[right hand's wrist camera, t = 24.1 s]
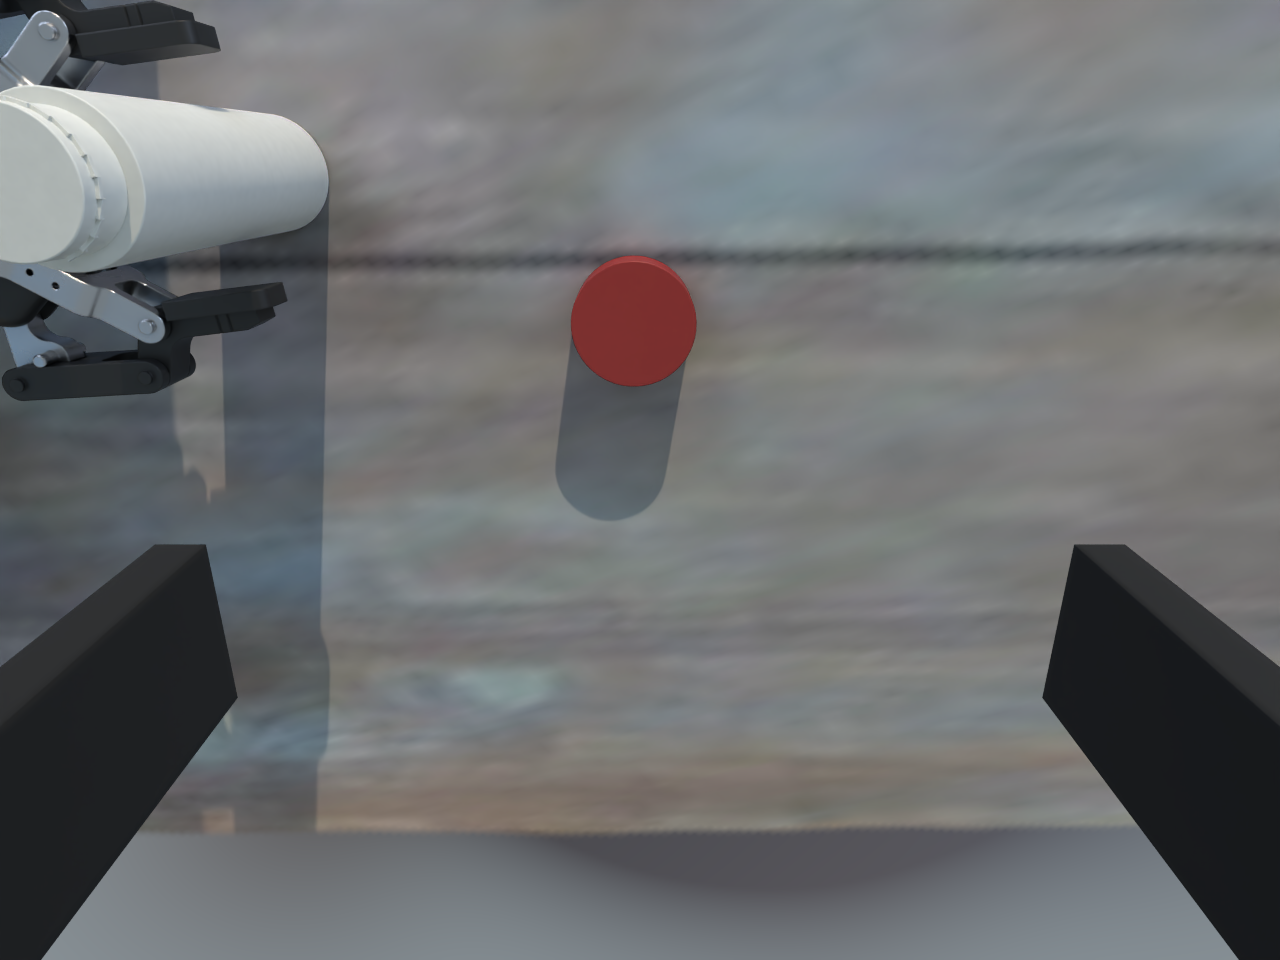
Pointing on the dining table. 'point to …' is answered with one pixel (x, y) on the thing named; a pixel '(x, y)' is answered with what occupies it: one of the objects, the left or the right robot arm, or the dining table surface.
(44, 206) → the white cylinder
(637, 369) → the lid
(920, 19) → the dining table surface
